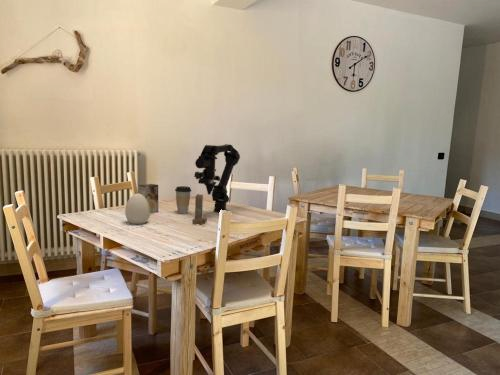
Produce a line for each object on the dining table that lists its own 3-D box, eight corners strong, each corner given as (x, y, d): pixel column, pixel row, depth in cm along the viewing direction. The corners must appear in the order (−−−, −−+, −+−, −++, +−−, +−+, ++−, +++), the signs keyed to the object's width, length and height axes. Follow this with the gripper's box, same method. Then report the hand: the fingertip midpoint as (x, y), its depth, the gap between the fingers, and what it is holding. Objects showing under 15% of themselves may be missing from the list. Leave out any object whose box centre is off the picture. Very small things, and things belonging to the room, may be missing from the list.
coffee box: (151, 210, 224) (151, 183, 222) (158, 212, 221) (158, 184, 218) (138, 212, 217) (138, 184, 215) (145, 214, 213) (145, 186, 211)
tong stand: (197, 221, 203) (198, 194, 201) (206, 222, 202) (207, 194, 200) (192, 224, 196) (193, 196, 194) (201, 225, 195) (202, 196, 193)
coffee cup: (171, 212, 220) (171, 187, 218) (181, 210, 228) (181, 185, 226) (184, 215, 216) (184, 189, 213) (194, 212, 224) (194, 187, 222)
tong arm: (197, 216, 199) (197, 194, 197) (202, 217, 198) (203, 194, 196) (195, 217, 198) (196, 194, 196) (201, 217, 197) (202, 195, 195)
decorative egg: (155, 222, 197) (155, 193, 195) (137, 226, 187) (137, 196, 185) (138, 218, 203) (138, 190, 201) (120, 222, 193) (119, 193, 191)
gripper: (203, 165, 226) (202, 191, 228) (190, 167, 208) (189, 195, 210) (220, 166, 223) (219, 192, 225) (208, 169, 205) (208, 197, 207)
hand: (209, 194), depth 217 cm, fingers closed
